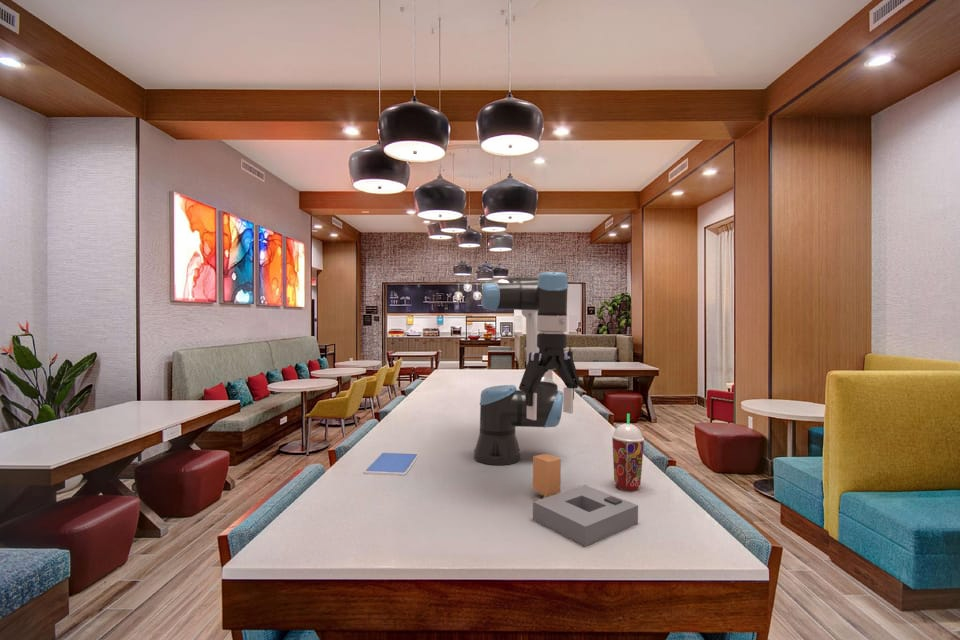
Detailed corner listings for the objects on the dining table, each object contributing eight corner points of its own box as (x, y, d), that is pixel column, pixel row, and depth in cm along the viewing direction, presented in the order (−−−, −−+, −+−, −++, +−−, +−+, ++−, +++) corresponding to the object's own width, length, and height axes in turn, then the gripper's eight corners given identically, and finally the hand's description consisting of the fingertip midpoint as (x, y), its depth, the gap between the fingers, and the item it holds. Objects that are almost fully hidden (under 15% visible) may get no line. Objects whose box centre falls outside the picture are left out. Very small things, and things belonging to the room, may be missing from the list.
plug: (532, 495, 115) (533, 456, 115) (544, 491, 118) (545, 453, 118) (547, 502, 111) (548, 461, 111) (560, 498, 114) (560, 458, 114)
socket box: (532, 519, 101) (533, 499, 101) (584, 500, 112) (585, 482, 112) (585, 546, 89) (585, 524, 89) (637, 523, 100) (638, 503, 100)
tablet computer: (381, 455, 148) (382, 451, 148) (419, 457, 148) (419, 453, 148) (362, 475, 129) (362, 471, 129) (405, 477, 128) (405, 473, 128)
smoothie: (645, 494, 117) (647, 417, 117) (612, 491, 119) (613, 416, 119) (640, 483, 125) (642, 411, 125) (610, 480, 127) (611, 410, 127)
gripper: (527, 333, 104) (525, 425, 104) (594, 333, 119) (592, 412, 120) (505, 332, 110) (504, 419, 110) (572, 332, 125) (571, 407, 125)
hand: (550, 415), depth 115 cm, fingers open, 13 cm apart
